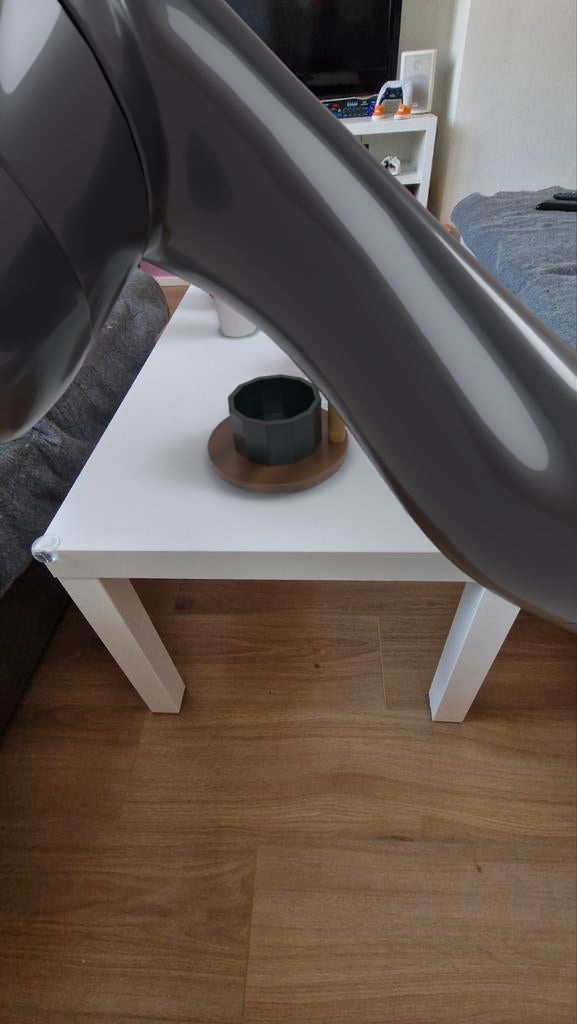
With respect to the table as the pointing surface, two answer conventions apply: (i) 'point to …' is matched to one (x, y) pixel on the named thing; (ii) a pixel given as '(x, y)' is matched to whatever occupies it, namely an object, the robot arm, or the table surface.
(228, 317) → the coffee cup
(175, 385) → the table surface
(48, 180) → the robot arm
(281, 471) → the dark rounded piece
